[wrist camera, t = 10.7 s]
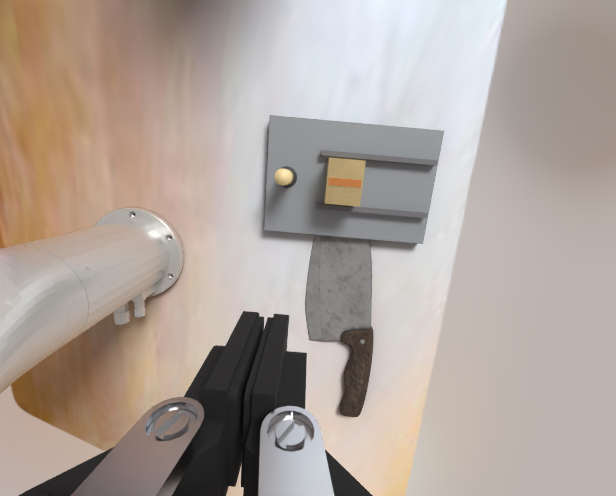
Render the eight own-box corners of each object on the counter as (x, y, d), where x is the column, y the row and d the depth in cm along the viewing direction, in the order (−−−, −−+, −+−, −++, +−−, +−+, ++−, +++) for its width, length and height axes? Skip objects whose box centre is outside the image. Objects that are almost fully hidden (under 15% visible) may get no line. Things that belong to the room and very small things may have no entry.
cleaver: (372, 407, 46) (375, 418, 44) (312, 410, 46) (312, 420, 44) (369, 228, 39) (373, 231, 37) (299, 232, 40) (299, 235, 38)
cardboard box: (354, 203, 36) (359, 206, 32) (323, 200, 36) (324, 203, 32) (359, 162, 35) (365, 160, 31) (327, 159, 35) (329, 157, 31)
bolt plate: (418, 241, 39) (439, 253, 33) (265, 228, 39) (256, 237, 33) (438, 132, 36) (465, 123, 29) (271, 117, 35) (262, 104, 29)
